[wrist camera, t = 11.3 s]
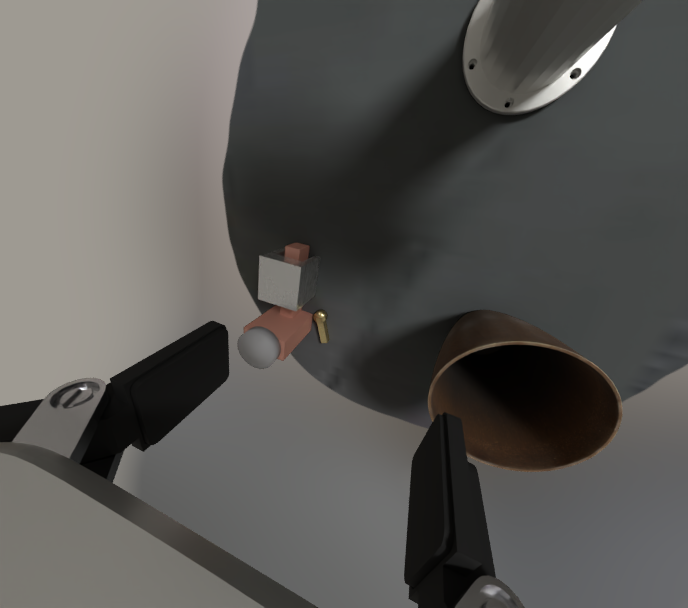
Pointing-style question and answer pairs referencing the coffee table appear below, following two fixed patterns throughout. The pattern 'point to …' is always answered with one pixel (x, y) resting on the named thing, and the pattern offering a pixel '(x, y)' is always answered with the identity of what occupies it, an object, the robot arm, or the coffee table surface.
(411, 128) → the coffee table surface
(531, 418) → the plant pot
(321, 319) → the brass key
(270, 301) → the block
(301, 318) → the brown mallet
